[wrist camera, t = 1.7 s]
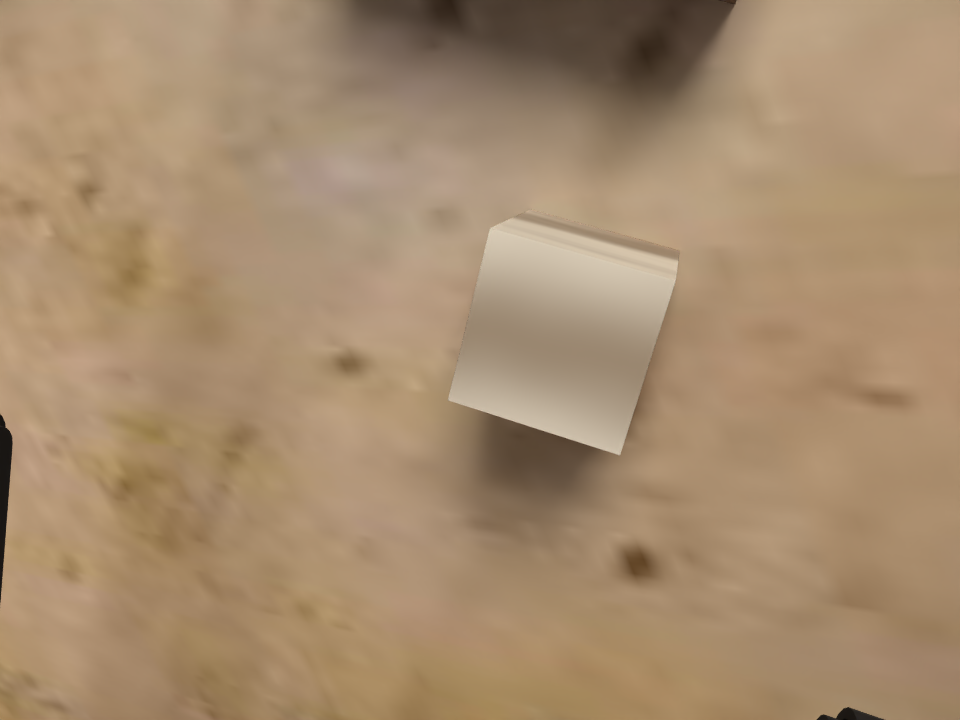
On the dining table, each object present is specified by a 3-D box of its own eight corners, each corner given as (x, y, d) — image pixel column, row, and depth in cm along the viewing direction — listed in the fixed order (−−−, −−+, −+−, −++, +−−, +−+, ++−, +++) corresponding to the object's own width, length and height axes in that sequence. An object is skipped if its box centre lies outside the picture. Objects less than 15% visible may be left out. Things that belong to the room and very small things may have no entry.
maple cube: (531, 208, 28) (490, 228, 23) (679, 250, 27) (675, 280, 22) (494, 349, 30) (447, 400, 24) (634, 392, 29) (619, 455, 23)
